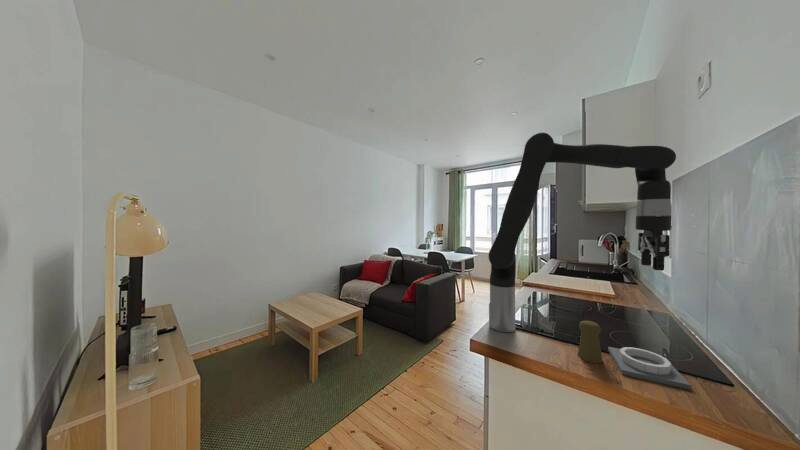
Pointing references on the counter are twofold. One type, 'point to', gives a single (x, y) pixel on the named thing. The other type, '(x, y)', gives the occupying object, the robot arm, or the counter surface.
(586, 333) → the cork
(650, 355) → the stand
